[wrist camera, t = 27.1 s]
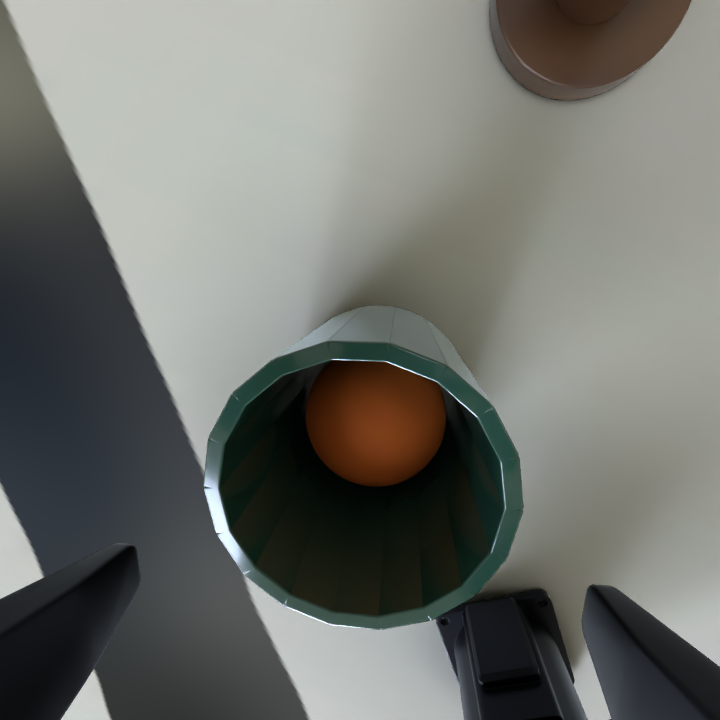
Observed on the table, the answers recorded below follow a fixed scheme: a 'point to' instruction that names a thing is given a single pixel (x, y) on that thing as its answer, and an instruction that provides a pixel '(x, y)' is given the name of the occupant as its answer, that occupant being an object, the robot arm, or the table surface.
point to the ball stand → (580, 41)
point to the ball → (374, 421)
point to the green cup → (358, 502)
